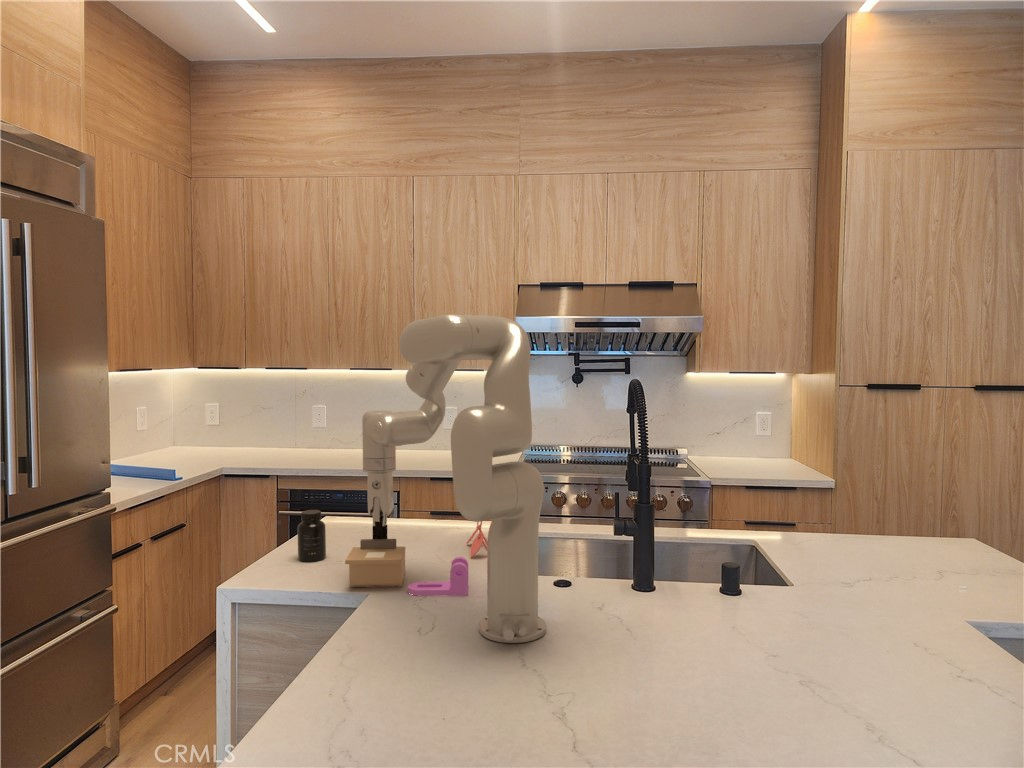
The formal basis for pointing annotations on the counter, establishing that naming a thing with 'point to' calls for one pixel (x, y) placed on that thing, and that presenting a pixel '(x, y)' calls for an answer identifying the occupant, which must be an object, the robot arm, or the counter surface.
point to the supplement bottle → (311, 537)
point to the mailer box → (377, 574)
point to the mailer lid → (376, 552)
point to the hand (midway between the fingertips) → (380, 542)
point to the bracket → (446, 582)
